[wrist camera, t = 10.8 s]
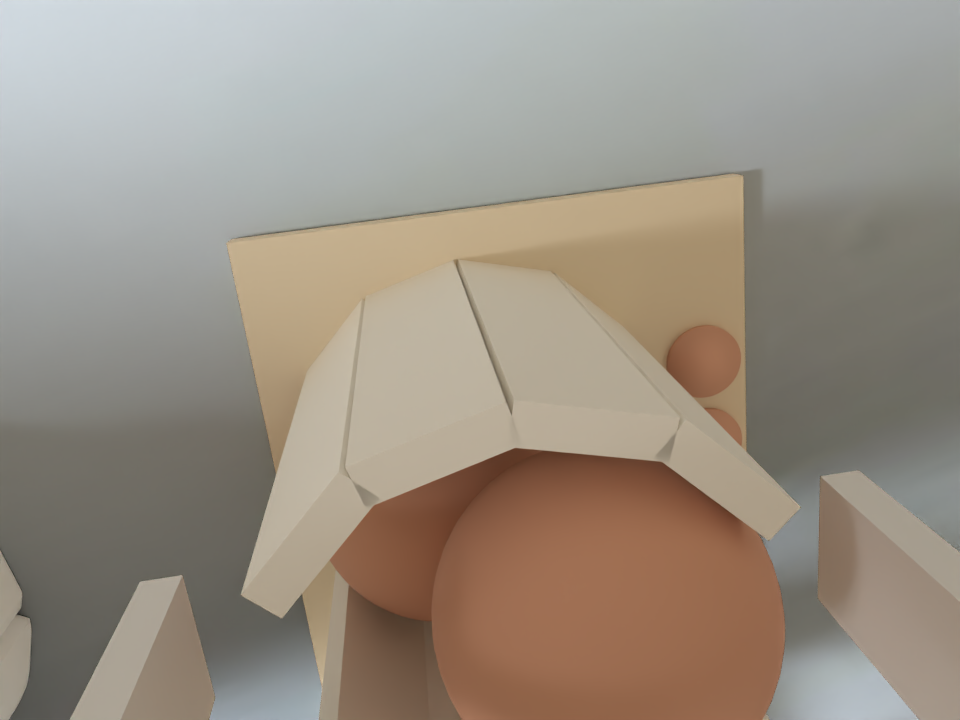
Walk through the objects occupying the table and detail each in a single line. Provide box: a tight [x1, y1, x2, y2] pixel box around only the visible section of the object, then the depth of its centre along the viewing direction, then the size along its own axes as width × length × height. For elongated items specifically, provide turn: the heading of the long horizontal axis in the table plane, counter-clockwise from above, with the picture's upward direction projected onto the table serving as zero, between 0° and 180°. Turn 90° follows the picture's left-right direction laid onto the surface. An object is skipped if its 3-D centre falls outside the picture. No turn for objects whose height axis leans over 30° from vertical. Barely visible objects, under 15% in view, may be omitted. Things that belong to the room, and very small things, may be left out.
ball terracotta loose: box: [431, 451, 785, 720], centre depth 14 cm, size 6×6×6 cm
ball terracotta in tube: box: [330, 448, 544, 621], centre depth 19 cm, size 6×6×6 cm
